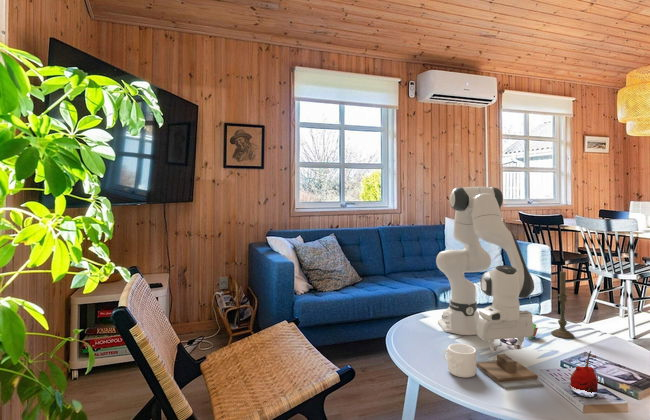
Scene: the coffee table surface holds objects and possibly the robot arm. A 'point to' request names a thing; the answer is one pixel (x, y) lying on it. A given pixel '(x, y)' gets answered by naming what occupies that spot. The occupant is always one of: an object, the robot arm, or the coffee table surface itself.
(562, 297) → the candlestick holder
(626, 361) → the coffee table surface
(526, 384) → the mat
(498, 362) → the lid
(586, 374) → the candy apple
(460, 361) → the mug
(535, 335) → the geometric puzzle
